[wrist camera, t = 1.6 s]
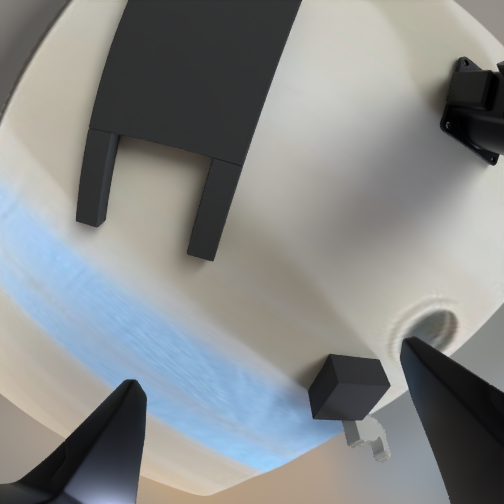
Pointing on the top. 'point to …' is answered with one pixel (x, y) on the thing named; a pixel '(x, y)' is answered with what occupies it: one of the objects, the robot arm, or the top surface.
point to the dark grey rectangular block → (347, 388)
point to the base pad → (186, 95)
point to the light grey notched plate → (368, 436)
